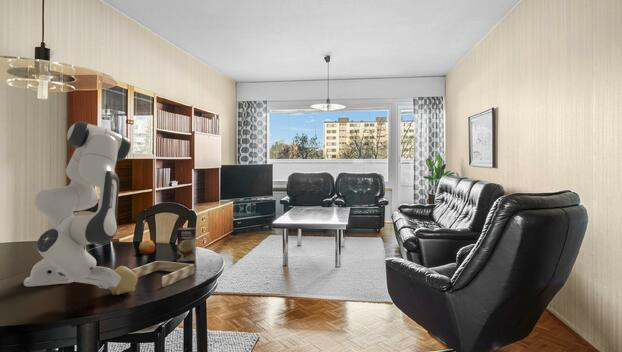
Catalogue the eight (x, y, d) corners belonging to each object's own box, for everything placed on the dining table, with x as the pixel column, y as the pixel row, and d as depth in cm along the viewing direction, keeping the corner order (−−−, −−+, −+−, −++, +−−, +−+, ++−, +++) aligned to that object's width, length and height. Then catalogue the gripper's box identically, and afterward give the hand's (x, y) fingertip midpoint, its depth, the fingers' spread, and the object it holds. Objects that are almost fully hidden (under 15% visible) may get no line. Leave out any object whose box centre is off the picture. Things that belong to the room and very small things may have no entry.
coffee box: (176, 261, 183) (176, 229, 183) (177, 258, 190) (177, 227, 189) (195, 260, 186) (195, 229, 185) (196, 257, 192) (196, 226, 192)
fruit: (158, 248, 207) (155, 237, 202) (154, 258, 200) (150, 247, 196) (144, 248, 206) (141, 237, 202) (139, 258, 200) (135, 247, 195)
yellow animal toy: (130, 286, 145) (130, 259, 145) (141, 294, 137) (141, 266, 136) (102, 292, 138) (102, 264, 138) (112, 301, 130) (112, 271, 129)
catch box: (164, 287, 145) (163, 277, 145) (123, 281, 151) (123, 272, 151) (194, 273, 164) (194, 264, 164) (157, 269, 170) (157, 260, 170)
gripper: (110, 260, 120) (133, 281, 130) (64, 255, 126) (89, 275, 136) (99, 278, 116) (123, 298, 125) (51, 271, 122) (78, 291, 132)
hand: (105, 286), depth 131 cm, fingers closed
